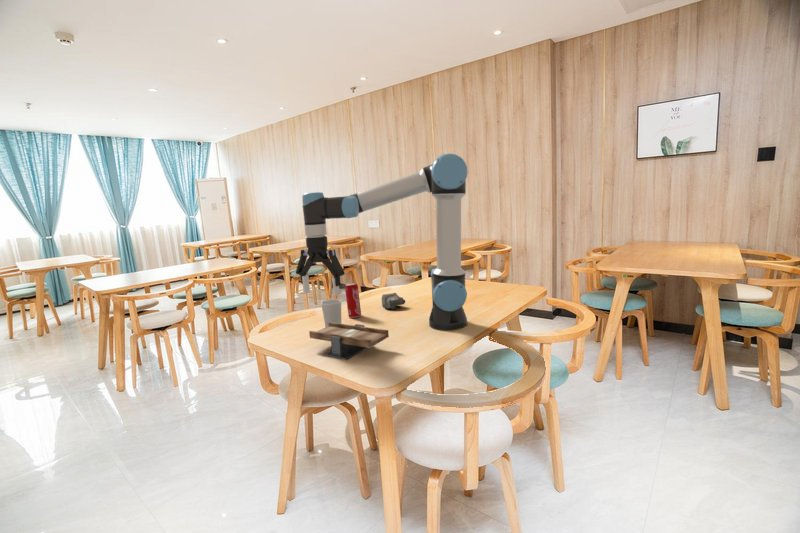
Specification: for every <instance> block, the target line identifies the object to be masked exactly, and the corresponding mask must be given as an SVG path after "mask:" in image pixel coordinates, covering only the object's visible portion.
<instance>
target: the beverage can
mask: <svg viewBox="0 0 800 533" xmlns="http://www.w3.org/2000/svg"><path fill="white" fill-rule="evenodd" d="M344 291H345V299H346V308H347V316H348V318H351V319H355V318H358V317H361V316H362V310H361V301H360V293H359V286H358V283H357V282H351V283H346V284H345V285H344Z"/></svg>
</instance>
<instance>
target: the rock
mask: <svg viewBox="0 0 800 533" xmlns="http://www.w3.org/2000/svg"><path fill="white" fill-rule="evenodd" d="M405 304H406V300H405V299H404V298H403V297H401V296H400V295H398V294H397V293H396V292H392V293H386V294H382V295H381V305H382V308H383V309H384V310H390V309H392V310H394V309H395V310H396V309H397V307H398V306H402V305H405Z"/></svg>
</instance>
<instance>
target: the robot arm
mask: <svg viewBox="0 0 800 533" xmlns="http://www.w3.org/2000/svg"><path fill="white" fill-rule="evenodd" d="M468 172H469V171H468V166H467V163H466V162H465V161H464V159H463V158H462V157H461V156H460V155H458V154H455V153H446V154H445V153H443V154H442V155H440V156H438V157H436V159H435V160H434V162H432V163H431V164H429V165H427V166H424V167H421V169H420V171H418V172H416V173H415V172H414V173H412V174H409V175H407V176H403V177H400V178H398V179H395V180H391V181H389V182H385V183H383V184H380V185H379V184H378V185H376V186H374V187H372V188H371V187H370V188H368V189H365V190H362V191H360V192H357V193H352V194H349V195H346V196H345V195H344V196H334V197H331V196H330V197H326V196H325V195H324V193H323V192H322V191H321V192H304V193H303V194H302V197H301V198H302V212H303V221H304V222H303V223H304V233H305V235H304V236H306V238H305V245H306V247H307V248H303V249H300V257H299V260H298V263H297V267H296V270H295V274H296V275H299V276H300V282H301V285H302V289H303V290H302V291H303V294H308V293H310V292H311V289H310V278H309V277H310V276H309V274H308V272H309V271H310V269H311V267H312V266H313V264H314V263H322V264H323V265H324V266H325V267H326V269H327V270H328V271H329V272H330V274H331V275H332V278H331V280H332V282H331V283H332V292H333V294H332V295H333V296H334V297H336V296H339V295H341V293H340V291H341V290H340V286H341V276H345V270H344V269H343V267H342V264H341V263H340V260H339V259H338V257H337V255H336V254H337V253H336V249H333V248H332V249H328V247H329V246H328V243H329V242H328V237H327V236H326V235H327V234H328V232H327V223H326V222H327V221H326V220H330V219H331V220H332V219H352V218H357V217H358V216H359V215H360V214H361V213H364V212H366V211H370V210H373V209H376V208H379V207H382V206H386V205H388V204H391V203H394V202H398V201H400V200H403V199H406V198H409V197H413V196H416V195H419V194H422V193H424V192H427V193H429V194H431V196H432V197H433V198H434V199H435V202H436V204H435V208H436V210H435V211H436V214H435V215H436V268H432V270H431V271H430V278H431V300H432V302H431V303H432V306H431V311H430V314H429V317H428V324H429V327H431V328H432V329H435V330H439V331H453V330H454V331H455V330H460V329H463V328H465V327H467V326H468V318H467V315H466V313H465V310H464V304H466V301H467V297H468V292H467V288H466V270H464V269H463V268H462V199H463V198H464V197H465V195H466V192H467V191H466V190H467V189H466V188H467V187H466V186H467V184H466V180H467V177H468Z"/></svg>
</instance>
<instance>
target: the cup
mask: <svg viewBox="0 0 800 533" xmlns="http://www.w3.org/2000/svg"><path fill="white" fill-rule="evenodd" d="M320 305H321V309H322V314H323V315H322V316H323V320H324V328H325V327H328V326H329V322H333V323H340V324H342V300H341V299H334V298H333V299H328V300H327V299H326V300H323V301H321V302H320Z"/></svg>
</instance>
